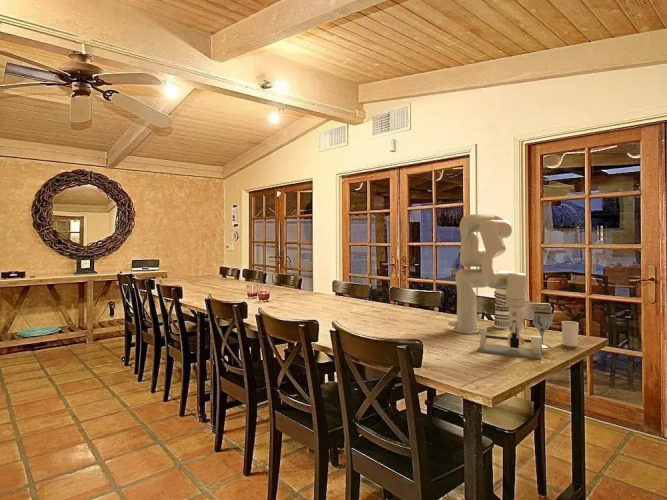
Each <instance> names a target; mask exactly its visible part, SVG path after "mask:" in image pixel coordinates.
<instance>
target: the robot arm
mask: <svg viewBox="0 0 667 500" xmlns="http://www.w3.org/2000/svg"><path fill="white" fill-rule="evenodd" d="M512 228H513V227H512V225H511V223H510V222H509V221H508V220H507V219H504V218H502V217H500V216H498V215H494V214H475V213H474V214H467V215H464V216H463V217H462V218H461V220H460V222H459V231H460V232H459V233H460V251H459V256H460V257H459V262H460V264H461V266H463V267H467V268H463V269H460V270H458V271H457V272H456V274H455V277H454V279H455V284H456V294H457V295H456V298H457V299H456V305H457V306H456V321H448V326H450V327H453V331H454V332H456V333H460V334H468V335H469V334H470V335H473V334H478V333H480V332H481V329H480V328H478V327H477V315H478V312H477V311H478V309H477V307H478V305H477V303H478V300H477V299H478V298H477V294H476V292H475V291H474V288H475V289H476V288H477V289H478V288H480V289H482V288H490V289H494V290H495V289H496V288H506V306H508V307H509V329H508V330H509V331H510V333H511V338H510V345H509V346H510V347H511V348H519V347H520V346H519V338H518V334H520V332H523V330H524V308H526V301H527V300H526V299H527V297H526V295H527V276H526V274H525V273H522V272H517V271H514V270H494V268H493V260H494V259H495V258H497V257H500V256H501V255H503V254H504V253H505V252H506V250H507V248H506V244H505V242H504V239H508V238H510V237H511V235H512V233H513V229H512ZM477 233H479V234H480V237H481V239H482V240H481V241H482V243H483V246H484V247H479V243H480V240H479V239H480V238H479V236H478V234H477ZM469 267H471V268H469ZM473 267H475V268H473ZM476 267H478V268H476Z"/></svg>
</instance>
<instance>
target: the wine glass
mask: <svg viewBox="0 0 667 500" xmlns="http://www.w3.org/2000/svg"><path fill="white" fill-rule="evenodd" d="M531 314H532V323H533V326H535V328H536V329H537V330H538V331H539V334H540V335H539V336H541V349H550V348H551V346H550V345H548V344H544V341H543V339H544V335H545V332H546V331H547V330H548V329H549V328H550V327H551V325H552V323H553V322H552V321H553V312H550V311H547V310H546V311H545V310H533V311H532V312H531Z"/></svg>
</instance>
